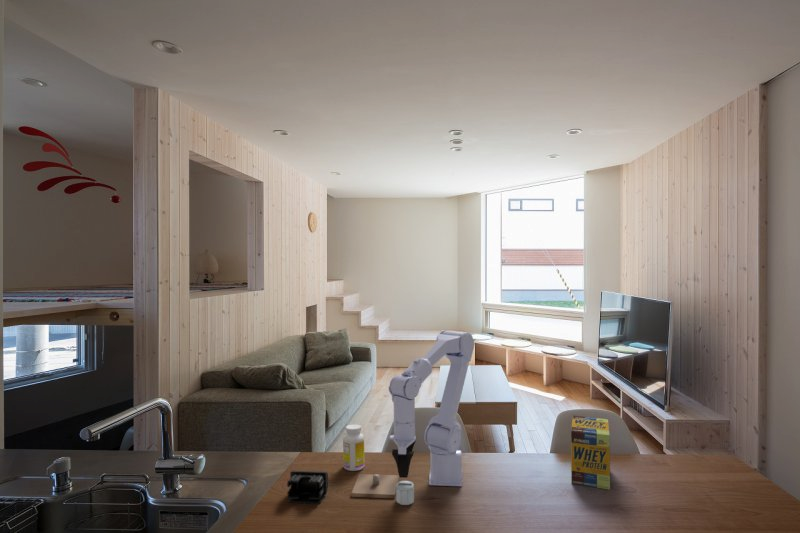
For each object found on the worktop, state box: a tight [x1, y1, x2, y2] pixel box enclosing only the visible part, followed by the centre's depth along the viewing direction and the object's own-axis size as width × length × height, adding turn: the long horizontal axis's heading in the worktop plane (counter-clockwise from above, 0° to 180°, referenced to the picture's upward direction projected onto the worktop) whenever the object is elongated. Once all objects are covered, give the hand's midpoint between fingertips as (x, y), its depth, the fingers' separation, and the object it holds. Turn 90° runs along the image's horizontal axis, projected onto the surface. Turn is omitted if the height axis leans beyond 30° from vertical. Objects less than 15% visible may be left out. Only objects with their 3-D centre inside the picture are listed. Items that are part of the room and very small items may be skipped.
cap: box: [395, 480, 415, 506], centre depth 129 cm, size 5×5×5 cm
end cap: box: [286, 470, 329, 505], centre depth 131 cm, size 10×7×7 cm
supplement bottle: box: [342, 424, 366, 472], centre depth 150 cm, size 7×7×13 cm
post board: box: [350, 473, 400, 499], centre depth 137 cm, size 12×12×3 cm
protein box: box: [570, 415, 611, 490], centre depth 142 cm, size 10×15×16 cm
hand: (404, 470), depth 129 cm, fingers open, 7 cm apart
